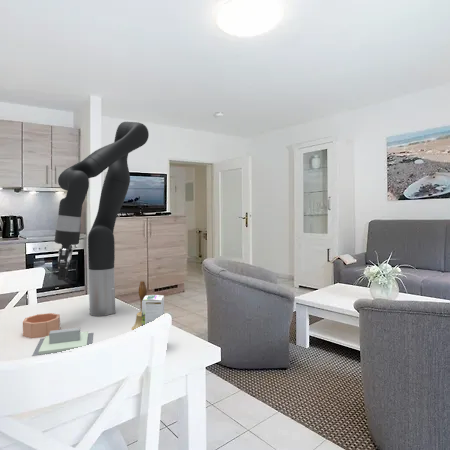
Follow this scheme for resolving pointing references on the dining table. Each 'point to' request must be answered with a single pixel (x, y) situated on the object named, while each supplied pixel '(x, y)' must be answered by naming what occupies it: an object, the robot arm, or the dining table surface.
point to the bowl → (40, 325)
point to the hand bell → (141, 294)
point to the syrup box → (152, 308)
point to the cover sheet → (63, 345)
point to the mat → (90, 341)
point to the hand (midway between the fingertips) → (62, 277)
